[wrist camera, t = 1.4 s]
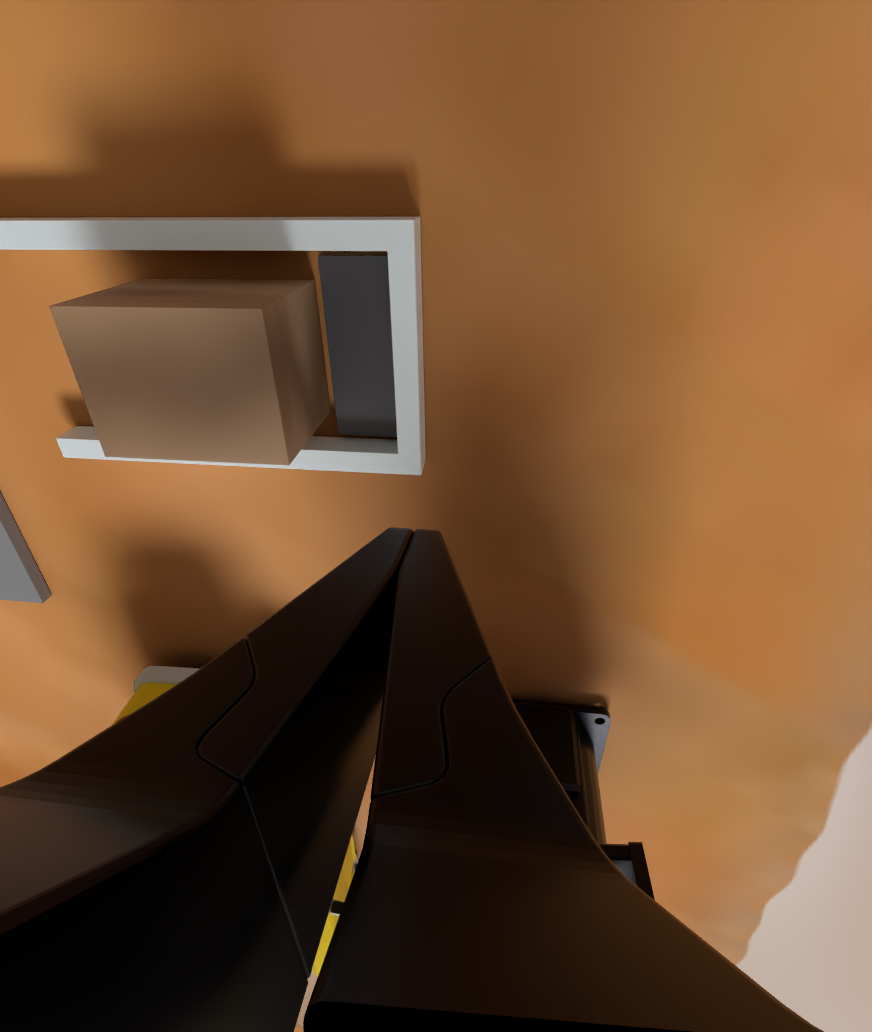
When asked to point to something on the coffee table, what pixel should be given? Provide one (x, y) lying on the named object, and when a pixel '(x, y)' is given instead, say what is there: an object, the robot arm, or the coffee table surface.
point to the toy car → (164, 678)
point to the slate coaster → (18, 564)
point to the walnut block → (200, 367)
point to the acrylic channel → (347, 307)
